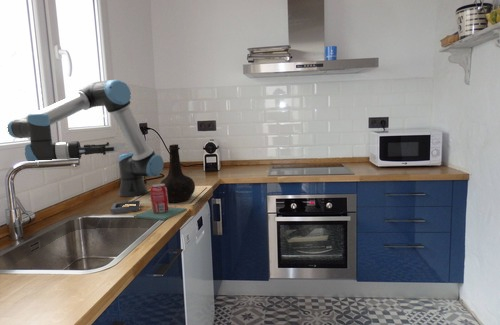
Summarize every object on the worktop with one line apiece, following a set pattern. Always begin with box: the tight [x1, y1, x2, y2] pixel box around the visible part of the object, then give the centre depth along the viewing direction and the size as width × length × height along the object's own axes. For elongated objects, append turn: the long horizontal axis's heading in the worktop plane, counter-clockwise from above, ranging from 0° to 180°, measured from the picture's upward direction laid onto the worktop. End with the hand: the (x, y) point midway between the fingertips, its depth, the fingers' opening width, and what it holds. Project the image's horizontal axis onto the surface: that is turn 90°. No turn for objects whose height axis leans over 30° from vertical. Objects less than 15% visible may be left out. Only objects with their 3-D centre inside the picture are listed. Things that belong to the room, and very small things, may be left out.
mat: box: [133, 206, 188, 221], centre depth 158 cm, size 16×16×1 cm
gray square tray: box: [110, 200, 141, 215], centre depth 170 cm, size 12×12×2 cm
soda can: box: [149, 183, 169, 213], centre depth 158 cm, size 7×7×12 cm
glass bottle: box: [159, 143, 196, 203], centre depth 180 cm, size 18×18×28 cm
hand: (124, 146), depth 154 cm, fingers open, 13 cm apart
